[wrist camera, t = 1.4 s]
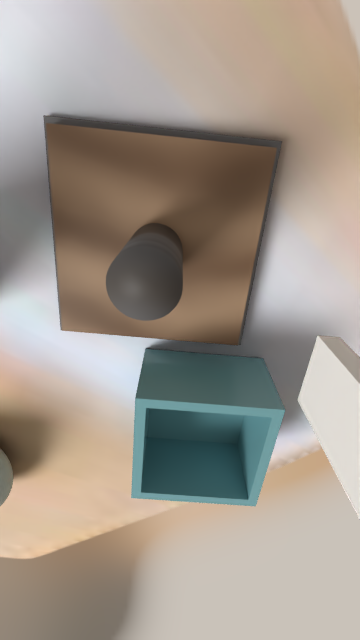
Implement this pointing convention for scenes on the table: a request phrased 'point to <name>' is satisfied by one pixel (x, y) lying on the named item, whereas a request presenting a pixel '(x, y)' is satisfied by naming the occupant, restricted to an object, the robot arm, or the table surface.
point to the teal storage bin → (203, 427)
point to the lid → (155, 231)
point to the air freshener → (5, 477)
